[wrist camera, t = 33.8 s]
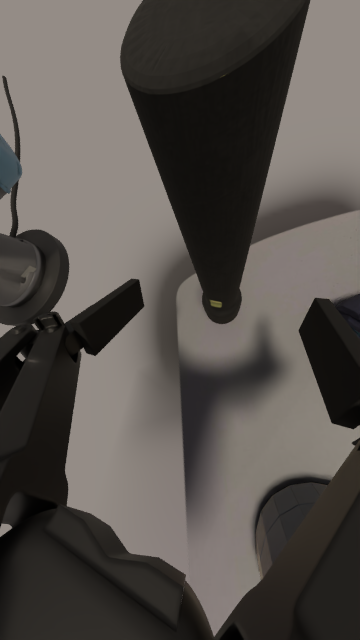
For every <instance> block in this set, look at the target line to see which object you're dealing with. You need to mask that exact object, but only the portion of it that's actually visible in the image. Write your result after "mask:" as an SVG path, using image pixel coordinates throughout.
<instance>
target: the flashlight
mask: <svg viewBox="0 0 360 640" xmlns="http://www.w3.org/2000/svg"><path fill="white" fill-rule="evenodd" d="M309 4H310V0H143V1H142V3H141V4H140V6H139V7H138V9H137V10H136V12H135V14H134V16H133V17H132V19H131V21H130V24H129V26H128V28H127V31H126V34H125V37H124V39H123V43H122V47H121V56H120V61H121V70H122V73H123V76H124V79H125V82H126V84H127V87H128V90H129V92H130V95H131V98H132V101H133V103H134V106H135V109H136V111H137V114H138V117H139V119H140V122H141V125H142V127H143V130H144V133H145V135H146V138H147V141H148V144H149V147H150V149H151V152H152V154H153V157H154V160H155V163H156V165H157V168H158V171H159V173H160V176H161V179H162V182H163V184H164V187H165V190H166V192H167V195H168V198H169V201H170V203H171V206H172V209H173V211H174V214H175V217H176V219H177V222H178V225H179V227H180V230H181V233H182V236H183V238H184V241H185V244H186V247H187V249H188V252H189V255H190V257H191V260H192V263H193V265H194V268H195V270H196V274H197V276H198V279H199V282H200V284H201V287H202V290H203V295H202V303H203V307H204V309H205V311H206V313H207V315H208V317H209V318H210V319H211V320H212V321H213V322H215V323H219V324H225V323H229V322H231V321H232V320H233V319H234V318H235V317H236V316H237V314H238V311H239V309H240V305H241V301H242V296H241V291H240V289H239V287H240V283H241V279H242V275H243V271H244V267H245V263H246V259H247V255H248V251H249V247H250V243H251V239H252V235H253V231H254V227H255V223H256V219H257V214H258V210H259V206H260V202H261V198H262V194H263V190H264V186H265V182H266V178H267V174H268V170H269V166H270V162H271V157H272V154H273V150H274V146H275V141H276V137H277V133H278V129H279V125H280V121H281V117H282V113H283V109H284V105H285V101H286V97H287V93H288V89H289V85H290V80H291V77H292V73H293V68H294V64H295V60H296V56H297V52H298V48H299V44H300V40H301V36H302V32H303V28H304V23H305V20H306V15H307V12H308V7H309Z"/></svg>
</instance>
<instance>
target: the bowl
mask: <svg viewBox="0 0 360 640" xmlns="http://www.w3.org/2000/svg"><path fill="white" fill-rule="evenodd" d="M327 486H328V485H324V484H319V483H313V482H309V483H302V484H295V485H290V486H288V487H286V488H284V489H283V490H281V491H279V492H277V493H276V494H274V495H272V497H271V498H270V499H269V501H268V502H267V504H266V505H265V506H264V508H263V509H262V510H261V513H260V517H259V521H258V525H257V529H256V548H257V560H258V566H259V572H260V579H261V580H262V578H263V577H264V576H265V574H266V573H267V571H268V570H269V569H270V567H271V566H272V564H273V563H274V561H275V560H276V559H277V557H278V556H279V554H280V553H281V551H282V550H283V549H284V547H285V546H286V544H287V543H288V541H289V540H290V539H291V537H292V536H293V534H294V533H295V531H296V530H297V529H298V527H299V526H300V524H301V523H302V521H303V520H304V519H305V517H306V516H307V514H308V513H309V511H310V510H311V509H312V507H313V506H314V504H315V503H316V501H317V500H318V499H319V497H320V496H321V494H322V493H323V491H324V490H325V489H326V487H327Z"/></svg>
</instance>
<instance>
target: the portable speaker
mask: <svg viewBox="0 0 360 640" xmlns="http://www.w3.org/2000/svg"><path fill="white" fill-rule="evenodd" d="M336 309H337V310H338V311H339V313H340V314H341V315H342V317H343V318H344V319H345V320H346V322H347V323H348V324H349V326H350V327H351V328H352V330H353V331H354V332H355V333H356V335H357V336H358V337H359V339H360V294H358V295H356V296H353V297H351V298H348V299H346V300H344V301H343V302H341V303H340V304H338V305H337V306H336Z"/></svg>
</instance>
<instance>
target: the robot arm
mask: <svg viewBox="0 0 360 640" xmlns="http://www.w3.org/2000/svg"><path fill="white" fill-rule="evenodd" d="M2 78H3V83H4V88H5V92H6V96H7V99H8V103H9V106H10V109H11V114H12V118H13V123H14V131H15V153H14V152H13V150H12V149H11V148H10V146H9V145H8V144H7V142H6V141H5V140H4V138H3V137H2V136H1V135H0V199H1V198H2V197H3V196H4V195H5V194H6V193H8V194H9V193H10V192H11V212H12V220H13V222H12V229H11V232H10V236H7V235H4V234H0V306H5V307H11V308H13V307H18V306H21V305H23V304H25V303H26V302H27V301H29V300H30V299H31V298H32V297H33V296H34V295H35V293H36V292H37V290H38V289H39V287H40V285H41V283H42V281H43V278H44V274H45V267H46V263H45V257H44V254H43V252H42V250H41V249H40V248H39V247H37V246H36V245H34V244H32V243H30V242H28V241H26V240H23V239H18V238H16V233H17V230H18V216H17V210H16V196H17V189H18V181H19V179H20V177H21V175H22V168H21V164H20V136H19V128H18V123H17V118H16V114H15V110H14V107H13V104H12V100H11V97H10V94H9V90H8V86H7V80H6V77H5V76H2ZM11 188H12V191H11V190H10V189H11ZM143 307H144V303H143V297H142V293H141V287H140V282H139V280H138V279H130V280H129V281H127V282H126V283H125V284H123V285H122V286H120V287H119V288H117V289H116V290H114V291H113V292H111V293H110V294H109V295H107V296H105V297H104V298H102V299H101V300H99V301H98V302H97V303H95V304H94V305H92V306H90V307H88V308H87V309H86V310H84V311H83V312H81V313H80V314H78V315H77V316H75V317H74V318H72V319H71V320H69V321H68V322H66V323H65V324H64V322H63V320H62V319H61V317H60V315H59V314H58V313H57V312H47V313H43V314H41V315H39V316H37V317H36V318H34V319H33V320H32V321H33V322H34V323H35V325H36V326H37V328H38V329H39V330H35V328H34V327H33V326H32V325H31V324H23V325H19V326H16V327H14V328H12V329H11V330H9V331H8V332H7V333H6V334H4V335H3V336H2V337H1V338H0V526H1V523H3V524H9V525H11V526H12V529H11V530H9V531H8V532H6V533H5V534H4V535H2V536H1V537H0V640H360V438H359V439H357V440H355V441H354V442H352V444H353V445H354V446H355V445H356V446H355V447H354V449H353V450H352V452H351V453H350V454H349V456H348V457H347V459H346V460H345V462H344V463H343V464H342V466H341V467H340V469H339V470H338V472H337V473H336V474H335V476H334V477H333V479H332V480H331V481H330V483H329V484H328V486H327V487H326V489H325V490H324V491H323V493H322V494H321V496H320V497H319V499H318V500H317V501H316V503H315V504H314V506H313V507H312V509H311V510H310V511H309V513H308V514H307V516H306V517H305V519H304V520H303V521H302V523H301V524H300V526H299V527H298V529H297V530H296V531H295V533H294V534H293V536H292V537H291V539H290V540H289V541H288V543H287V544H286V546H285V547H284V549H283V550H282V551H281V553H280V554H279V556H278V557H277V559H276V560H275V561H274V563H273V564H272V566H271V567H270V569H269V570H268V571H267V573H266V574H265V576H264V577H263V578H262V580H261V581H260V582H259V583H258V584H257V585H256V586H255V587H254V588H253V589H251V590H250V591H249V592H248V593H247V594H246V595H245V596H244V597H243V598H242V599H241V601H240V602H239V603H238V605H237V606H236V607H235V609H234V610H233V612H232V613H231V614H230V616H229V617H228V618H227V620H226V621H225V623H224V624H223V625H222V627H221V628H220V630H219V631H218V632H217V634H216V635H215V637H214V636H213V633H212V630H211V627H210V625H209V622H208V619H207V617H206V614H205V612H204V610H203V608H202V606H201V604H200V601H199V600H198V598H197V596H196V595H195V593H194V591H193V590H192V588H191V587H190V586H189V584H188V583H187V582H186V581H185V577H186V575H185V574H184V573H182V572H181V571H179V570H177V569H176V568H174V567H173V566H171V565H170V564H168V563H166V562H165V561H163V560H162V559H160V558H158V557H151V556H143V555H136V554H131V553H129V552H128V551H127V550H126V548H125V547H124V546H123V544H122V543H121V541H120V540H119V538H118V537H117V536H116V534H115V532H114V531H113V529H112V528H111V527H110V526H109V525H107V524H106V523H104V522H103V521H101V520H100V519H98V518H96V517H95V516H93V515H92V514H90V513H87V512H84V511H80V510H77V509H74V508H70V507H67V498H68V482H67V478H66V475H65V463H66V457H67V450H68V443H69V435H70V429H71V422H72V414H73V409H74V402H75V395H76V388H77V381H78V374H79V368H80V361H81V352H80V349H82V348H84V349H85V351H86V353H88V354H91V355H94V356H96V355H97V354H98V353H99V352H100V351H101V350H102V349H103V348H104V347H105V346H106V345H107V344H108V343H109V342H110V341H111V339H113V338H114V337H115V335H117V334H118V333H119V331H120V330H122V328H123V327H124V326H125V325H126V324H127V323H128V322H129V321H130V320H131V319H132V318H133V317H134V316H135V315H136V314H137V313H138V312H139V311H140V310H141V309H142V308H143ZM299 333H300V336H301V339H302V342H303V344H304V347H305V350H306V353H307V355H308V358H309V361H310V364H311V367H312V369H313V372H314V375H315V378H316V380H317V383H318V386H319V389H320V392H321V394H322V397H323V400H324V403H325V406H326V408H327V411H328V414H329V417H330V419H331V422H332V423H333V424H337V425H341V426H344V427H348V428H351V429H354V428H356V427H357V426H359V425H360V339H359V337H358V336H357V335H356V333H355V332H354V331H353V330H352V328H351V327H350V326H349V324H348V323H347V322H346V320H345V319H344V318H343V317H342V315H341V314H340V313H339V311H338V310H337V309H336V307H335V306H334V305H333V304H332V302H331V301H330V300H329V299H322V298H315V299H314V301H313V303H312V305H311V307H310V309H309V311H308V313H307V315H306V317H305V319H304V321H303V323H302V325H301V327H300V329H299ZM19 352H21V354H22V355H23V356H24V357H25V358H26V359H25V360H24V361H23V362H22V361H20V359H19V358H18V357H17V355H18V353H19ZM184 583H185V584H184ZM183 589H184V590H183ZM182 595H183V596H182ZM181 601H182V602H181Z"/></svg>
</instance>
